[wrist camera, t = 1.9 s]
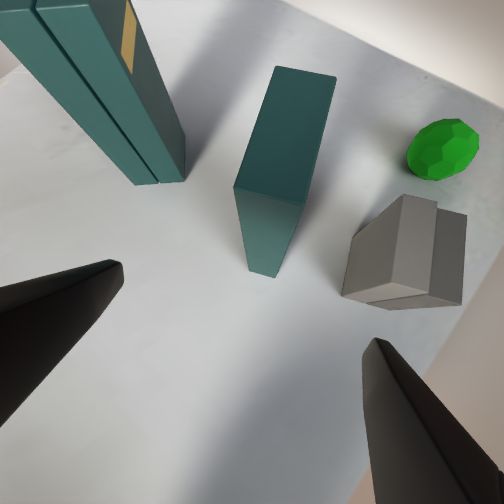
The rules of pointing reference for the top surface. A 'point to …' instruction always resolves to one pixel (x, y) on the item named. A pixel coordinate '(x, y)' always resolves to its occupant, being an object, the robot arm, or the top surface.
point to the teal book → (280, 164)
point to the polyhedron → (442, 149)
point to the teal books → (101, 79)
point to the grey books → (408, 257)
